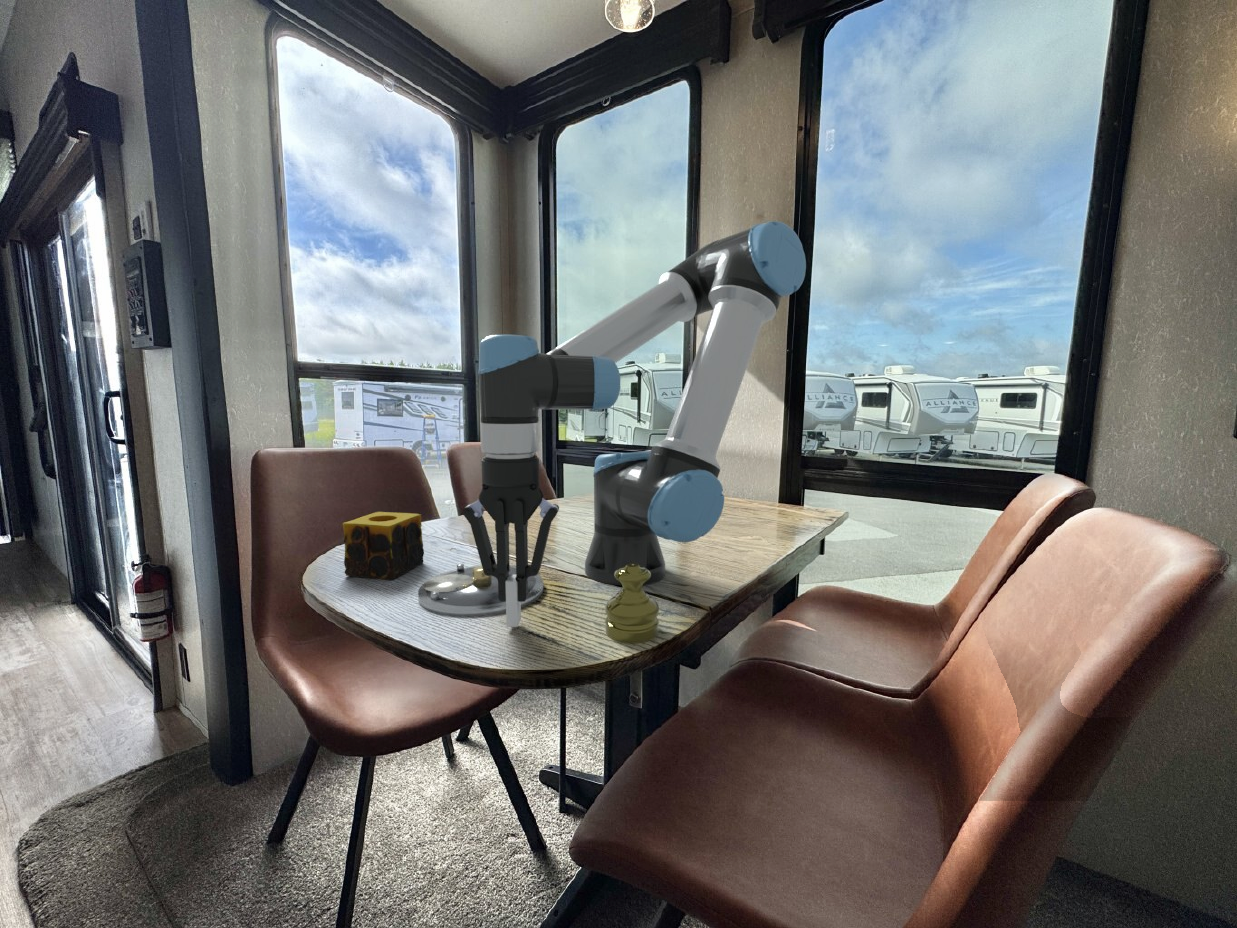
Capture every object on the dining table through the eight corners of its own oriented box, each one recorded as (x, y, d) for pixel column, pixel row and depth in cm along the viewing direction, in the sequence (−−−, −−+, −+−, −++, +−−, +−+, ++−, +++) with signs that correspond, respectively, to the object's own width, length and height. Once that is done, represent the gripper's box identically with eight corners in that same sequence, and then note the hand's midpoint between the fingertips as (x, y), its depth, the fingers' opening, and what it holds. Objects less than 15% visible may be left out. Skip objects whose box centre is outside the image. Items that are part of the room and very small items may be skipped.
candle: (393, 581, 90) (390, 526, 88) (343, 577, 92) (339, 523, 90) (425, 563, 99) (423, 513, 98) (380, 559, 101) (377, 510, 100)
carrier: (550, 571, 95) (549, 551, 94) (533, 618, 75) (532, 592, 74) (442, 571, 95) (442, 550, 94) (397, 617, 75) (395, 591, 74)
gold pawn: (669, 635, 70) (671, 565, 69) (632, 654, 65) (633, 578, 63) (631, 618, 75) (632, 553, 74) (593, 634, 70) (594, 564, 69)
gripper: (562, 452, 71) (563, 611, 74) (469, 451, 71) (474, 611, 74) (556, 458, 64) (557, 635, 67) (452, 457, 64) (458, 635, 67)
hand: (513, 622), depth 71 cm, fingers closed
